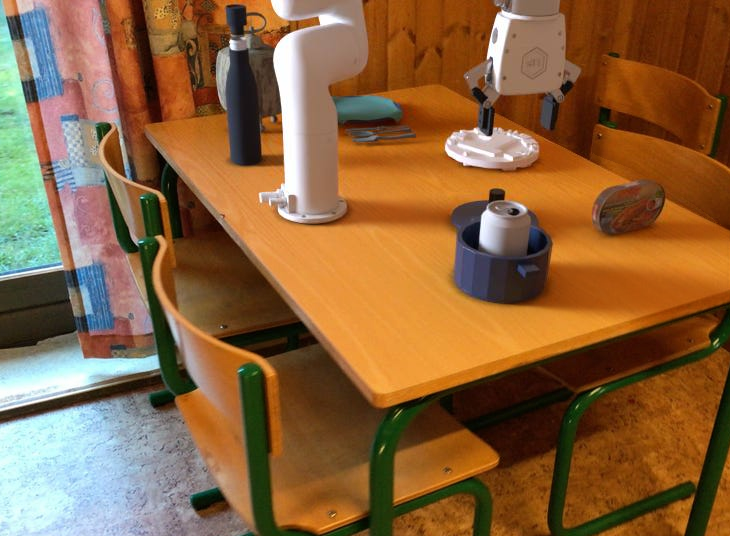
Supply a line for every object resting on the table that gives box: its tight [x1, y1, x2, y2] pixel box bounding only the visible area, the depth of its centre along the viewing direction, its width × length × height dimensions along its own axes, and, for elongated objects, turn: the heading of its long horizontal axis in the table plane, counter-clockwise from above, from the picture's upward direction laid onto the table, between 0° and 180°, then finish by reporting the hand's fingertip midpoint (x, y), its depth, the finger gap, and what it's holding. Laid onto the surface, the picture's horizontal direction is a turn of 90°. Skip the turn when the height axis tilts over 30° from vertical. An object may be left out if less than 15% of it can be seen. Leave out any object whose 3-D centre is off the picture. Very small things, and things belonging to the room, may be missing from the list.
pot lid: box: [450, 187, 539, 230], centre depth 150 cm, size 16×16×6 cm
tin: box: [591, 179, 666, 236], centre depth 149 cm, size 15×3×8 cm, turn 117°
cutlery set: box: [331, 94, 417, 144], centre depth 196 cm, size 20×30×2 cm, turn 15°
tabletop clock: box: [215, 11, 282, 134], centre depth 184 cm, size 14×9×25 cm, turn 122°
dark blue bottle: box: [224, 3, 263, 167], centre depth 166 cm, size 6×6×30 cm
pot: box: [453, 215, 554, 304], centre depth 132 cm, size 15×20×8 cm
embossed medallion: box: [444, 126, 540, 172], centre depth 180 cm, size 20×20×3 cm
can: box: [478, 200, 531, 257], centre depth 130 cm, size 8×8×12 cm
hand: (516, 130), depth 120 cm, fingers open, 9 cm apart
